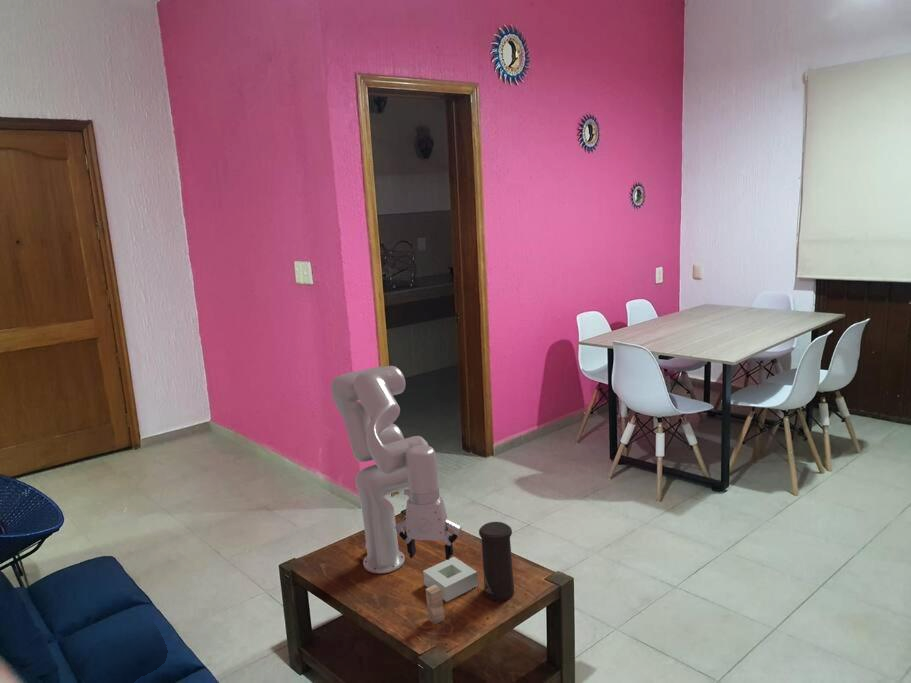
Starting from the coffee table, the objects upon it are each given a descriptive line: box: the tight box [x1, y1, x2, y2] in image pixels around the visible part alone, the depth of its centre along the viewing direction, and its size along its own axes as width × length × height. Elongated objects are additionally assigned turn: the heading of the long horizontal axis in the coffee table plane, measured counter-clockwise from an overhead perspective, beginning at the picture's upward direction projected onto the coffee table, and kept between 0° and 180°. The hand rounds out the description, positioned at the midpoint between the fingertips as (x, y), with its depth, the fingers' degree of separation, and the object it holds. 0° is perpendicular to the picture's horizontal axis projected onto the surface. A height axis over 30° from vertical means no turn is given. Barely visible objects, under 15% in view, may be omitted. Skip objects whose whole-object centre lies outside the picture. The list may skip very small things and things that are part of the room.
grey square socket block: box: [422, 556, 479, 603], centre depth 194 cm, size 11×11×4 cm
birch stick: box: [425, 585, 445, 626], centre depth 179 cm, size 3×3×9 cm
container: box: [478, 521, 515, 602], centre depth 187 cm, size 9×9×20 cm
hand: (430, 556), depth 175 cm, fingers open, 9 cm apart
